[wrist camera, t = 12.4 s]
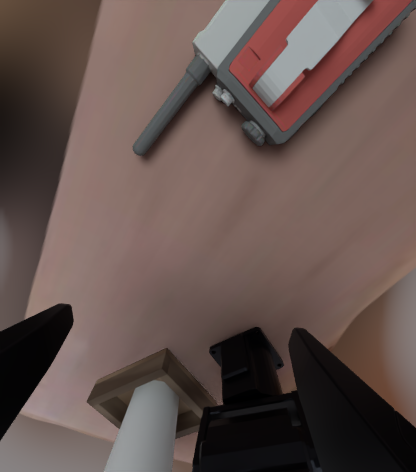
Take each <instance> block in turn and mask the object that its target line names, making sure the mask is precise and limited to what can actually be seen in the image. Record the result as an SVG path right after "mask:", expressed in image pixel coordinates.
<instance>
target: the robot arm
mask: <svg viewBox="0 0 416 472" xmlns="http://www.w3.org/2000/svg"><path fill="white" fill-rule="evenodd" d="M73 322H74V319H73V313H72V307H71V305H69V304H62V303H61V304H57V305H55V306H53V307H51V308H49V309H46V310H44V311H42V312H40V313H38V314H36V315H34V316H32V317H30V318H28V319H25V320H23V321H21V322H19V323H17V324H15V325H13V326H11V327H9V328H7V329H5V330H3V331H0V440H1V439H2V437H3V436H4V434H5V433H6V432H7V430H8V428H9V427H10V426H11V424H12V423H13V421H14V420H15V418H16V417H17V415H18V414H19V412H20V411H21V409H22V408H23V406H24V405H25V403H26V402H27V400H28V399H29V397H30V396H31V394H32V393H33V391H34V390H35V388H36V387H37V385H38V384H39V382H40V381H41V379H42V378H43V376H44V375H45V373H46V372H47V370H48V369H49V367H50V366H51V364H52V362H53V361H54V359H55V357H56V355H57V354H58V352H59V350H60V348H61V346H62V344H63V343H64V341H65V339H66V337H67V335H68V333H69V332H70V330H71V328H72V326H73ZM288 347H289V353H290V358H291V363H292V368H293V372H294V377H295V382H296V387H297V390H296V391H291V392H292V393H286V394H283V393H282V390H281V386H280V383H279V379H278V375H277V372H276V370H277V369H280V368H282V367H283V366H284V364H283V361H282V359H281V358H280V356H279V355H278V353H277V352H276V350H275V349H274V347H273V346H272V345H271V343H270V342H269V340H268V339H267V337H266V336H265V334H264V333H263V331H262V330H261V329H260V328H259V327H255V328H252V329H250V330H248V331H245V332H243V333H241V334H239V335H236V336H234V337H232V338H230V339H227V340H225V341H223V342H221V343H218V344H216V345H214V346H212V347H210V349H209V353H210V355H211V356H212V357H213V358H214V359H215V361H216V362H217V363H218V364H219V365H220V367H221V378H222V398H223V405H219V406H213V407H210V406H207V407H204V408H203V414H202V417H201V421H200V427H199V432H198V437H197V442H196V448H195V453H194V458H193V469H192V472H416V428H415V427H414V426H413V425H412V424H411V423H410V422H408V421H407V420H406V419H405V418H404V417H403V416H402V415H401V414H400V413H399V412H397V411H395V410H394V408H393V407H392V406H391V405H389V404H388V403H387V402H386V401H385V400H384V399H382V397H380V396H379V395H378V394H377V393H376V392H375V391H374V390H373V389H371V388H370V387H369V386H368V385H367V384H366V383H365V382H364V381H363V380H361V379H360V378H359V377H358V376H357V375H356V374H355V373H354V372H353V371H351V370H350V369H349V368H348V367H347V366H346V365H345V364H344V363H342V362H341V361H340V360H339V359H338V358H337V357H336V356H335V355H334V354H332V353H331V352H330V351H329V350H328V349H327V348H326V347H325V346H323V345H322V344H321V343H320V342H319V341H318V340H317V339H316V338H315V337H313V336H312V335H311V334H310V333H309V332H308V331H307V330H305V329H303V328H294V329H293V331H292V334H291V337H290V340H289V344H288Z"/></svg>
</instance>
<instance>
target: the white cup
mask: <svg viewBox="0 0 416 472" xmlns="http://www.w3.org/2000/svg"><path fill="white" fill-rule="evenodd" d="M178 405H179V396H178V395H177V394H176V393H175V392H174V391H173V390H172V389H171V388H170V387H169V386H168V385H167V384H166V383H165V382H162V381H157V380H153V381H151V382H148V383H146V384H144V385H141V386H139V387H137V388H135V390H134V393H133V396H132V398H131V401H130V403H129V406H128V409H127V411H126V414H125V417H124V419H123V422H122V425H121V427H120V430H119V432H118V435H117V438H116V440H115V443H114V446H113V448H112V451H111V453H110V456H109V459H108V461H107V464H106V467H105V469H104V472H172V464H173V455H174V445H175V435H176V425H177V415H178Z"/></svg>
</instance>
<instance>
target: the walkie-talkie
mask: <svg viewBox="0 0 416 472" xmlns="http://www.w3.org/2000/svg"><path fill="white" fill-rule="evenodd" d="M415 9H416V0H226V1H225V2H224V3H223V5H222V6H221V8H220V9H219V10H218V12H217V13H216V14H215V16H214V17H213V19H212V20H211V21H210V23H209V24H208V26H207V27H206V28H205V30H203V31H200V32H199V34H198V35H197V36H196V38H195V39H194V41H193V42H192V43H193V48H194V53H195V54H196V56H195V57H194V59H193V60H192V62H191V63H190V64H189V66H188V67H187V69H186V74H185V75H184V77H183V78H182V79H181V81H180V82H179V83H178V85H177V86H176V87H175V89H174V90H173V92H172V93H171V94H170V96H169V97H168V98H167V100H166V101H165V102H164V104H163V105H162V107H161V108H160V109H159V111H158V112H157V113H156V115H155V116H154V117H153V119H152V120H151V122H150V123H149V124H148V126H147V127H146V128H145V130H144V131H143V132H142V134H141V135H140V137H139V138H138V139H137V141H136V142H135V143H134V145H133V151H134V153H135V154H137V155H139V156H143V155H144V154H145V153H146V152H147V151H148V149H149V148H150V147H151V145H152V144H153V143H154V142H155V140H156V139H157V138H158V136H159V135H160V134H161V132H162V131H163V130H164V129H165V127H166V126H167V125H168V123H169V122H170V121H171V119H172V118H173V117H174V116H175V114H176V113H177V112H178V110H179V109H180V108H181V106H182V105H183V104H184V103H185V101H186V100H187V99H188V97H189V96H190V95H191V93H192V92H193V91H194V89H195V88H196V87H197V86H198V85H201V84H202V82H203V81H204V80H205V78H206V77H207V76H208V75H209V73H210V72H212V74H213V75H214V76H215V77H216V78H217V85H215V90H214V91H213V92H212V93H213V95H214V96H215V98H216V99H217V100H219V101H221V100H222V101H223V102H224V104H225V105H227V106H229V105H230V104H231V103H232V104H233V105H234V106H235V107H236V109H237V110H238V111H239V112H240V113H241V114H242V115H243V116H244V117H245V118H246V120H247V121H245V122H244V123H243V124H242V130H243V131H244V132H245V134H246V135H247V136H248V137H249V138H250V139H251V140H252V141H253V142H254V143H255V144H256V145H258V146H261V145H262V144H263V143H264V142H265V141H266V142H267V143H268V144H269V145H274V144H280V143H285V142H286V141H287V140H289V139H290V138H291V137H292V136H293V135H294V134H295V133H296V132H297V131H298V128H299V127H300V126H301V125H302V124H303V123H304V122H305V121H306V120H307V119H308V118H309V117H311V116H313V115H314V114H315V113H316V111H317V110H318V109H319V108H320V107H321V106H322V104H323V103H324V102H325V101H326V100H327V99H328V98H329V97H330V96H331V95H332V94H333V93H334V92H335V91H336V90H337V87H338V86H339V85H340V84H342V83H343V82H344V81H345V78H347V77H349V76H350V75H351V74H352V71H353V70H355V69H357V68H358V67H359V66H360V63H361V62H363V61H365V60H366V59H367V58H368V55H369V54H371V53H373V52H374V51H375V50H376V47H377V46H379V45H380V44H382V43H383V42H384V39H385V38H386V37H388V36H389V35H390V34H391V33H392V30H394V29H395V28H397V27H398V26H399V25H400V24H401V21H403V20H404V19H406V18H407V17H408V16H409V15H410V12H412V11H413V10H415Z"/></svg>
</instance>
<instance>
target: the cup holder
mask: <svg viewBox="0 0 416 472" xmlns="http://www.w3.org/2000/svg"><path fill="white" fill-rule="evenodd" d="M153 380H157V381H162V382H165V383H166V384H167V385H168V386H169V387H170V388H171V389H172V390H173V391H174V392H175V393H176V394H177V395H178V396H179V405H178V415H177V425H176V435H175V439H177V438H180V437H182V436H185V435H188V434H191V433H194V432H197V431H199V427H200V421H201V417H202V414H203V408H204V407H207V406H210V407H213V406H216V401H215V400H214V399H213V398H212V397H211V396H210V395H209V394H208V393H207V392H206V390H205V389H204V388H203V387H202V386H201V385H200V384H199V383H198V382H197V381H196V379H195V378H194V377H193V376H192V375H191V374H190V373H189V372H188V371H187V370H186V368H185V367H184V366H183V365H182V364H181V363H180V362H179V361H178V360H177V359H176V357H175V356H174V355H173V354H172V353H171V352H170V351H169V350H168V349H167V348H166V349H163V350H161V351H159V352H157V353H155V354H153V355H150V356H148V357H146V358H144V359H142V360H140V361H138V362H135V363H133V364H131V365H129V366H127V367H125V368H123V369H120V370H118V371H116V372H114V373H112V374H110V375H107V376H105V377H103V378H101V379H99V380H97V382H96V384H95V386H94V388H93V390H92V392H91V394H90V396H89V398H88V400H87V403H88V404H89V405H91V406H92V407H93V408H94V409H96V410H97V411H98V412H99V413H100V414H102V415H103V416H104V417H105V418H106V419H108V420H109V421H110V422H111V423H113V424H114V425H115V426H116V427H117V428H119V429H120V427H121V425H122V422H123V419H124V417H125V414H126V411H127V409H128V406H129V403H130V401H131V398H132V396H133V393H134V390H135V388H137V387H139V386H141V385H144V384H146V383H148V382H151V381H153Z"/></svg>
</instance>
